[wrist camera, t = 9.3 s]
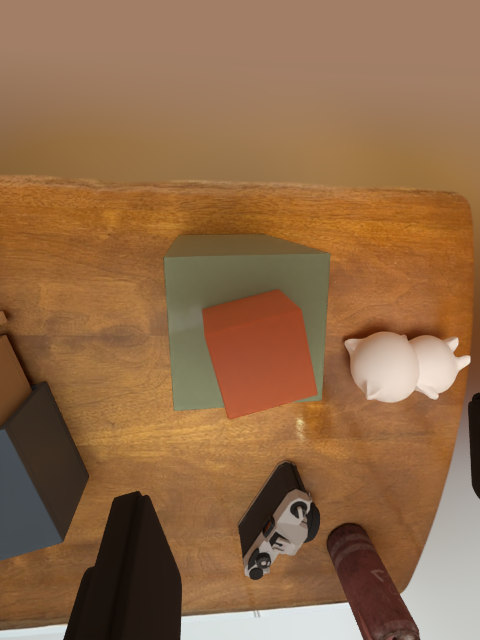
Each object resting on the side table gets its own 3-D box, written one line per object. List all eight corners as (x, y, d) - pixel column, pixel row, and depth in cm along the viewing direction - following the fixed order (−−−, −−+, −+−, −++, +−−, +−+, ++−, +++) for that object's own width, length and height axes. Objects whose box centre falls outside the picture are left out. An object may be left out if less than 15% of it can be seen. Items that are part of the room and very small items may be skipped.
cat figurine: (493, 376, 36) (382, 384, 34) (440, 423, 44) (347, 431, 42) (449, 311, 42) (351, 315, 40) (408, 363, 50) (326, 369, 48)
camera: (279, 545, 51) (300, 607, 43) (230, 531, 49) (242, 593, 41) (322, 468, 50) (353, 517, 41) (273, 451, 48) (295, 498, 39)
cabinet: (-57, 408, 40) (-129, 465, 31) (46, 381, 40) (4, 429, 31) (-4, 502, 44) (-54, 576, 35) (89, 476, 44) (63, 542, 36)
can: (329, 521, 51) (377, 629, 38) (370, 523, 52) (431, 629, 39) (319, 555, 53) (362, 670, 40) (359, 556, 54) (414, 669, 41)
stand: (178, 234, 38) (163, 256, 19) (263, 233, 39) (330, 253, 20) (183, 317, 40) (173, 411, 21) (262, 314, 41) (321, 400, 22)
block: (201, 308, 20) (203, 334, 16) (278, 288, 20) (301, 308, 16) (221, 379, 21) (228, 420, 17) (293, 359, 21) (318, 395, 17)
